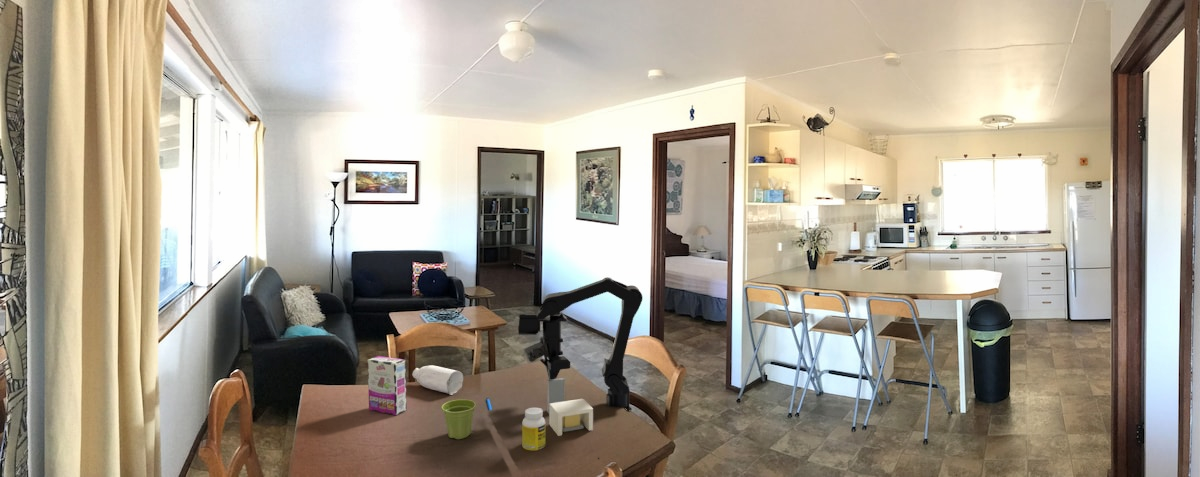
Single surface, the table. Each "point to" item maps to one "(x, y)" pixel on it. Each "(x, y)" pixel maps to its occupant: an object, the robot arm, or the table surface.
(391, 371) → the candy bar box
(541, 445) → the pill bottle
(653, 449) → the table surface
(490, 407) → the pen
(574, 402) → the tunnel
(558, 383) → the bracket
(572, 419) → the block
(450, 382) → the white plastic bottle
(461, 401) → the plant pot
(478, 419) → the table surface
